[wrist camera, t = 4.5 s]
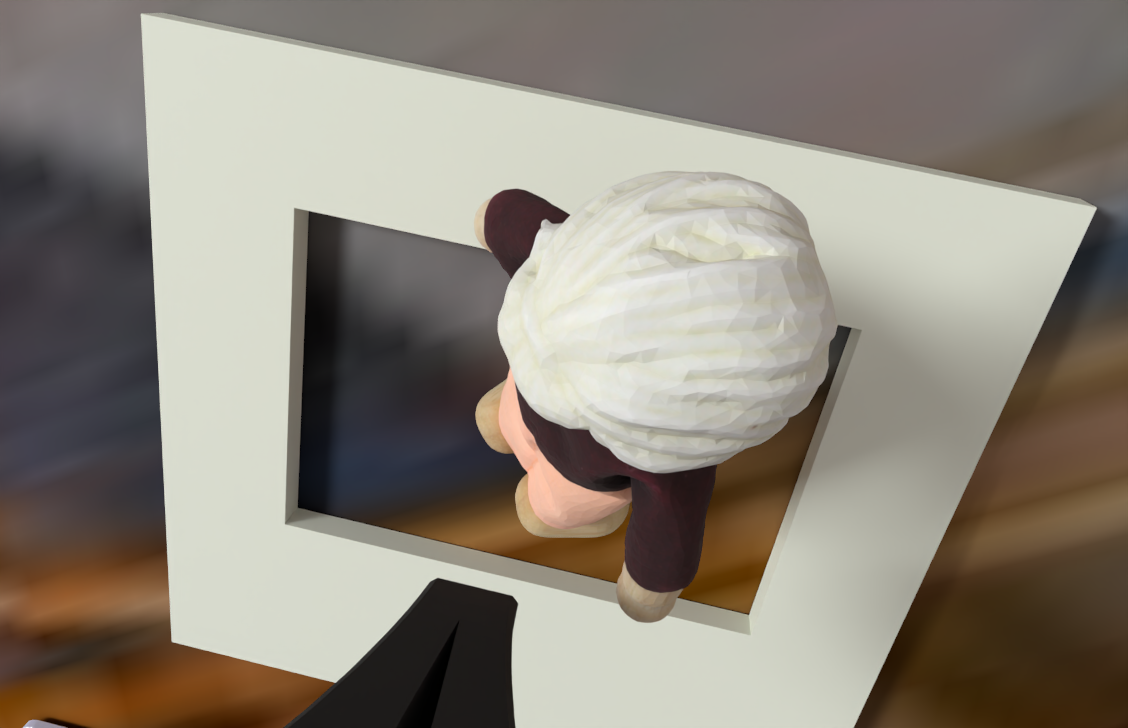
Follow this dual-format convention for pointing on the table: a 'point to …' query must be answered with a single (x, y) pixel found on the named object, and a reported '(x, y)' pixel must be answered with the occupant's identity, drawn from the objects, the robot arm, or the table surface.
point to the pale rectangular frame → (447, 211)
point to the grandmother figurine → (649, 357)
